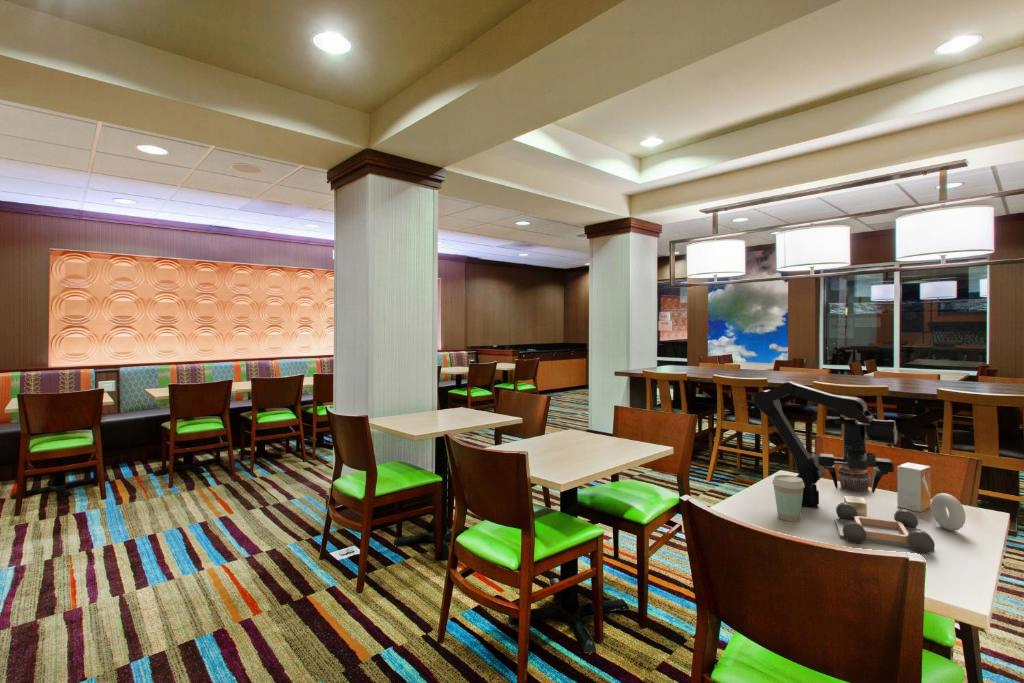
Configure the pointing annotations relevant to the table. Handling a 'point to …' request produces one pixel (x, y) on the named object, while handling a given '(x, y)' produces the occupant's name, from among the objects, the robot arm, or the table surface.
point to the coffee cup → (788, 496)
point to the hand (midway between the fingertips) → (854, 490)
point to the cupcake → (853, 478)
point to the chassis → (883, 529)
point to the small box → (914, 486)
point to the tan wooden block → (857, 505)
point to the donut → (954, 508)
